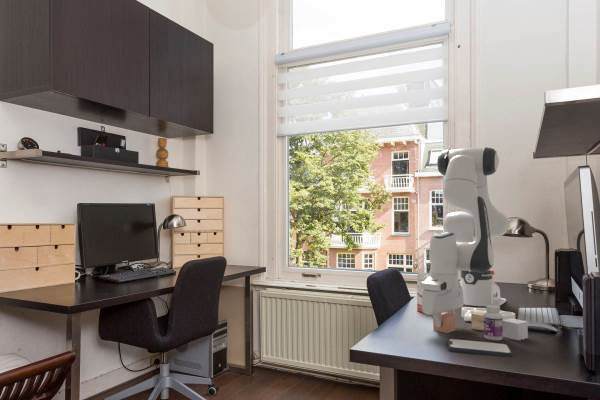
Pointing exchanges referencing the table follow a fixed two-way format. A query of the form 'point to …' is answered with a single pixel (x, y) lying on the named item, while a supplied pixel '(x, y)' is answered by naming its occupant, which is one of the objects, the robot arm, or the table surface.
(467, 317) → the knuckle duster
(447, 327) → the terracotta block
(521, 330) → the grey block
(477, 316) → the maple block
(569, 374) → the table surface
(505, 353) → the phone case
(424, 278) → the ink cartridge box
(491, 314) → the pill bottle
